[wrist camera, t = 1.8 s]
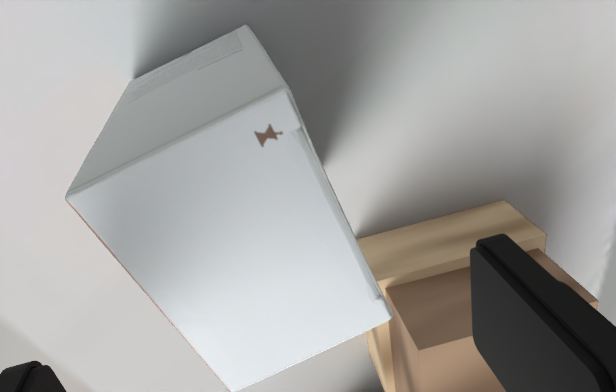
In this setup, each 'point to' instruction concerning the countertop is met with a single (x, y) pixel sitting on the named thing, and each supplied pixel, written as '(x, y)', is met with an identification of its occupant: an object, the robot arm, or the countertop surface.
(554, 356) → the robot arm
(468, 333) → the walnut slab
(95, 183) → the small box
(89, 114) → the countertop surface
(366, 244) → the oak slab
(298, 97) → the countertop surface
